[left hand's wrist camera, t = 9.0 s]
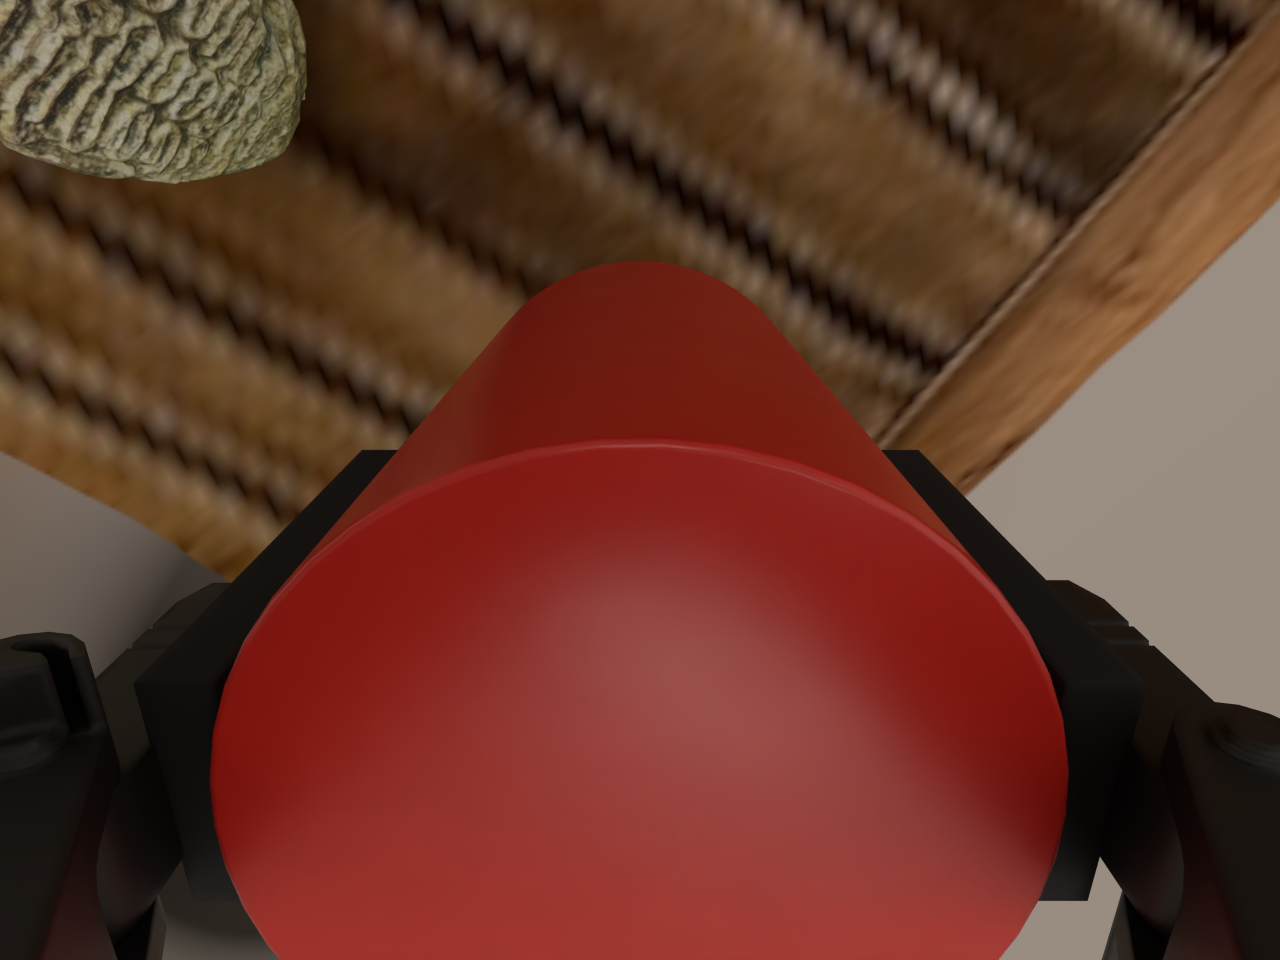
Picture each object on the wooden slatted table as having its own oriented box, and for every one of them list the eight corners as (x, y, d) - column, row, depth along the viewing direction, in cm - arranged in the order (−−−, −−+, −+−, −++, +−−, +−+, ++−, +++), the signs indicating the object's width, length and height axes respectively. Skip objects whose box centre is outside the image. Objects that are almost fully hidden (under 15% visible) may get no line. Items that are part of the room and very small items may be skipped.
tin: (711, 625, 21) (800, 1188, 9) (425, 505, 19) (119, 985, 8) (870, 353, 18) (1262, 672, 7) (551, 196, 17) (365, 257, 5)
